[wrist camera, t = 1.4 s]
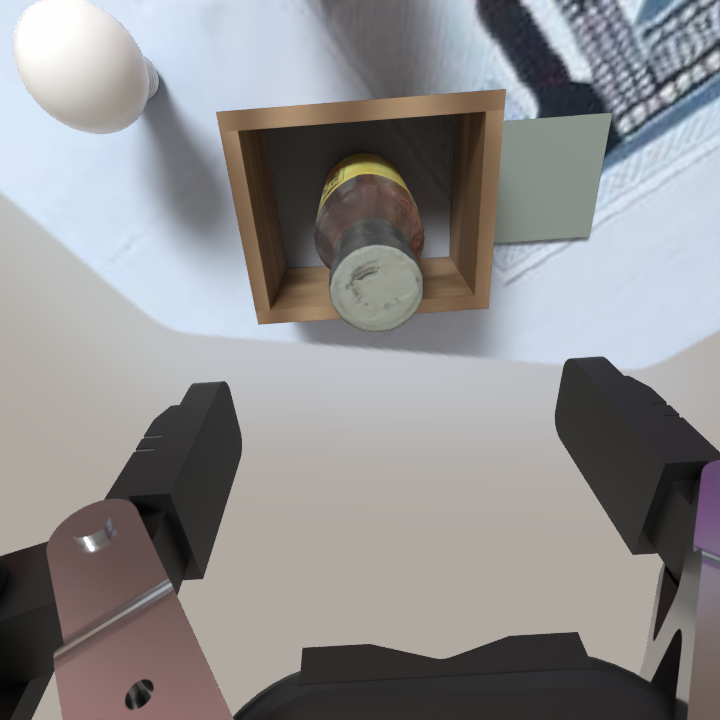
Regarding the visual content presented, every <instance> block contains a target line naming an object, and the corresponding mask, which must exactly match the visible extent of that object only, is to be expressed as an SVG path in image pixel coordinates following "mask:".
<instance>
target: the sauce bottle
mask: <svg viewBox="0 0 720 720" xmlns="http://www.w3.org/2000/svg"><path fill="white" fill-rule="evenodd" d="M314 237H315V245H316V249H317V252H318V254H319V256H320V258H321V260H322V261H323V263H324V264H325V265H326V266H327V267H328V268H329V269H330V274H329V292H330V298H331V301H332V303H333V306H334V308H335V310H336V311H337V312H338V314H339V315H340V317H341V318H342V319H343V320H345V321H346V322H347V323H349V324H350V325H352V326H354V327H356V328H358V329H361V330H364V331H371V332H382V331H388V330H391V329H393V328H396V327H398V326H400V325H402V324H403V323H404V322H405V321H407V320H409V319H410V318H411V316H412V315H413V314H414V313H415V312H416V310H417V309H418V307H419V305H420V303H421V300H422V297H423V290H424V284H423V276H422V272H421V269H420V266H419V264H418V261H419V258H420V256H421V253H422V250H423V244H424V229H423V226H422V221H421V218H420V215H419V211H418V208H417V205H416V203H415V201H414V199H413V197H412V196H411V194H410V192H409V190H408V188H407V186H406V184H405V183H404V181H403V179H402V177H401V175H400V173H399V172H398V170H397V169H396V168H395V166H394V165H392V164H391V163H390V162H389V161H387V160H386V159H384V158H383V157H381V156H378V155H376V154H371V153H365V152H359V153H354V154H352V155H350V156H347V157H345V158H344V159H342V160H341V161H339V162H338V163H337V164H336V165H335V166H334V167H333V168H332V170H331V171H330V173H329V174H328V176H327V179H326V181H325V185H324V189H323V193H322V197H321V201H320V205H319V209H318V214H317V219H316V223H315V231H314Z"/></svg>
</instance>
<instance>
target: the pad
mask: <svg viewBox="0 0 720 720" xmlns="http://www.w3.org/2000/svg"><path fill="white" fill-rule="evenodd" d="M611 116H612V113H604V114H591V115H578V116H565V117H552V118H539V119H526V120H513V121H503V132H502V144H501V157H500V169H499V182H498V195H497V207H496V220H495V232H494V243H506V242H520V241H534V240H548V239H562V238H575V237H589V236H590V230H591V225H592V219H593V214H594V208H595V203H596V198H597V192H598V187H599V181H600V176H601V170H602V165H603V160H604V154H605V149H606V143H607V138H608V133H609V127H610V122H611Z"/></svg>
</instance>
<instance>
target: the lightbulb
mask: <svg viewBox="0 0 720 720" xmlns="http://www.w3.org/2000/svg"><path fill="white" fill-rule="evenodd" d="M13 55H14V61H15V65H16V68H17V71H18V73H19V76H20V78H21V80H22V82H23V84H24V86H25V87H26V89H27V91H28V92H29V94H30V95H31V96H32V98H33V99H34V100H35V101H36V102H37V103H38V105H39V106H40V107H41V108H42V109H43V110H45V111H46V112H47V113H48V114H49V115H51V116H52V117H53V118H55V119H56V120H58V121H59V122H61V123H63V124H64V125H66V126H68V127H71V128H73V129H76V130H78V131H82V132H86V133H91V134H110V133H115V132H118V131H121V130H123V129H125V128H127V127H128V126H130V125H131V124H132V123H134V122H135V121H136V120H137V119H138V117H139V116H140V115H141V113H142V112H143V110H144V108H145V105H146V103H147V99H148V98H151V97H152V96H153V95H154V94H155V93H156V91H157V89H158V85H159V78H158V74H157V71H156V69H155V67H154V65H153V64H152V63H151V62H150V61H149V60H148V59H147V58H146V57H144V56H143V54H142V52H141V50H140V48H139V46H138V44H137V43H136V41H135V40H134V38H133V37H132V35H131V34H130V33H129V31H128V30H127V29H126V28H125V27H124V26H123V24H122V23H121V22H119V21H118V20H117V19H116V18H115V17H114V16H113V15H111V14H110V13H109V12H107V11H106V10H104V9H103V8H101V7H99V6H98V5H96V4H94V3H91V2H89V1H86V0H39V1H37V2H35V3H33V4H32V5H31V6H29V7H28V8H27V9H26V10H25V11H24V12H23V14H22V15H21V17H20V18H19V20H18V22H17V25H16V27H15V31H14V36H13Z"/></svg>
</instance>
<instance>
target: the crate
mask: <svg viewBox="0 0 720 720" xmlns="http://www.w3.org/2000/svg"><path fill="white" fill-rule="evenodd" d="M505 94H506V89H500V90H487V91H475V92H462V93H449V94H437V95H424V96H411V97H399V98H386V99H373V100H361V101H348V102H335V103H323V104H310V105H297V106H285V107H272V108H259V109H247V110H234V111H222V112H216V115H217V120H218V125H219V130H220V135H221V140H222V145H223V150H224V155H225V160H226V165H227V170H228V175H229V180H230V185H231V190H232V195H233V200H234V205H235V210H236V215H237V220H238V225H239V230H240V235H241V240H242V245H243V250H244V255H245V260H246V265H247V270H248V275H249V280H250V285H251V290H252V295H253V300H254V305H255V310H256V315H257V320H258V324H273V323H287V322H301V321H316V320H330V319H342V318H341V317H340V315H339V314H338V312H337V311H336V310H335V308H334V306H333V303H332V301H331V298H330V292H329V274H330V269H329V268H328V267H327V266H316V267H302V268H288V269H287V268H286V262H285V255H284V249H283V242H282V236H281V229H280V223H279V216H278V210H277V203H276V197H275V190H274V184H273V177H272V171H271V164H270V158H269V151H268V145H267V139H266V132H265V129H266V128H279V127H292V126H305V125H318V124H330V123H343V122H356V121H369V120H382V119H394V118H407V117H420V116H433V115H446V114H454V128H453V160H452V192H451V224H450V257H441V258H427V259H419V261H418V264H419V266H420V269H421V272H422V276H423V284H424V290H423V297H422V300H421V303H420V305H419V307H418V309H417V310H416V312H415V313H414V314H416V313H430V312H444V311H459V310H473V309H487V308H489V295H490V282H491V270H492V257H493V245H494V232H495V220H496V207H497V195H498V182H499V169H500V157H501V144H502V132H503V119H504V107H505Z"/></svg>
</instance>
